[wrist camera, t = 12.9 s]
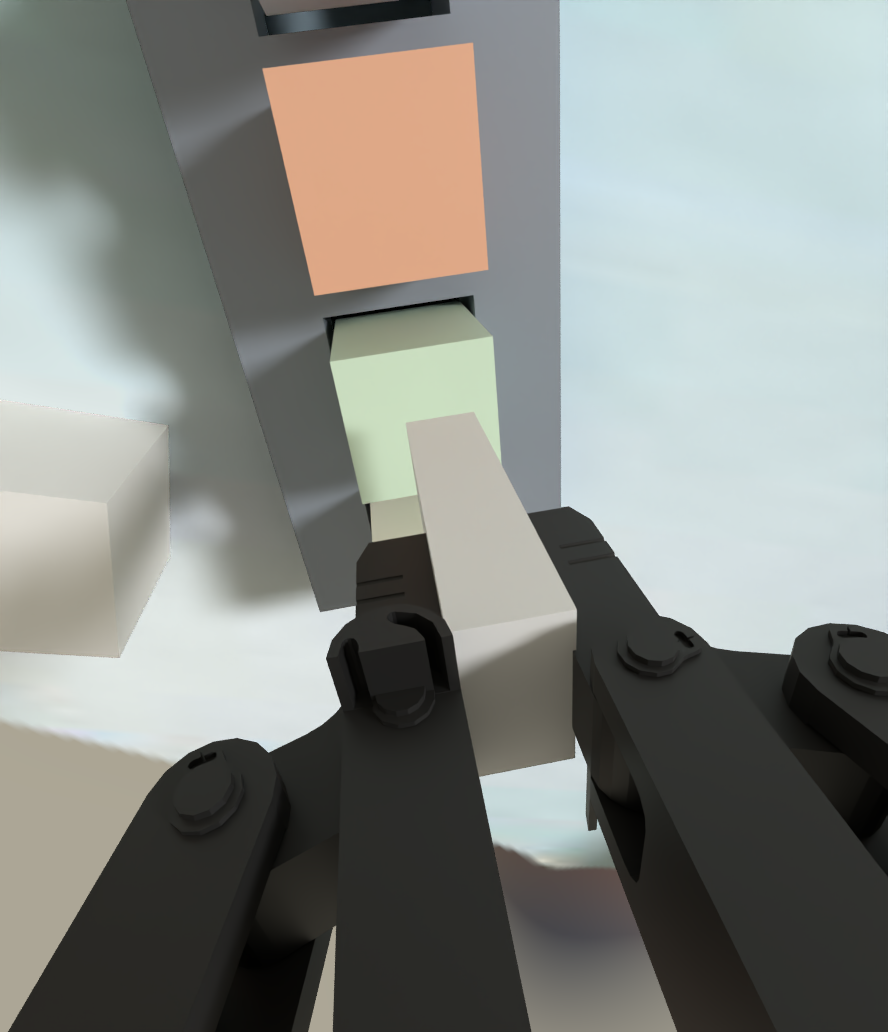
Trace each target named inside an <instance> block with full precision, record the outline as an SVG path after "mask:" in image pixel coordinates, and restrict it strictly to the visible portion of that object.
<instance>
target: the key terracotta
mask: <svg viewBox="0 0 888 1032" xmlns="http://www.w3.org/2000/svg"><path fill="white" fill-rule="evenodd" d="M263 74H264V78H265V82H266V87H267V91H268V95H269V100H270V104H271V109H272V113H273V117H274V122H275V126H276V130H277V135H278V139H279V143H280V148H281V152H282V156H283V161H284V165H285V169H286V174H287V178H288V183H289V187H290V191H291V196H292V200H293V204H294V209H295V213H296V217H297V222H298V226H299V230H300V235H301V239H302V243H303V248H304V252H305V256H306V261H307V265H308V270H309V274H310V278H311V283H312V287H313V291H314V296H316V295H323V294H330V293H337V292H343V291H350V290H357V289H363V288H370V287H377V286H383V285H390V284H397V283H404V282H410V281H417V280H424V279H430V278H437V277H444V276H450V275H457V274H464V273H470V272H477V271H484V270H488V256H487V241H486V227H485V212H484V197H483V182H482V167H481V153H480V138H479V123H478V108H477V93H476V79H475V64H474V49H473V43H465V44H457V45H449V46H441V47H433V48H425V49H417V50H408V51H400V52H392V53H384V54H376V55H368V56H360V57H352V58H344V59H336V60H328V61H320V62H312V63H303V64H295V65H287V66H279V67H271V68H263Z"/></svg>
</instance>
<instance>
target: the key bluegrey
mask: <svg viewBox="0 0 888 1032" xmlns="http://www.w3.org/2000/svg"><path fill="white" fill-rule="evenodd" d="M389 1H397V0H259V2H260V4H261V6H262V8H263V10H264V12H265V14H266V16H270V15H279V14H287V13H296V12H304V11H313V10H321V9H330V8H338V7H346V6H355V5H363V4H372V3H380V2H389Z"/></svg>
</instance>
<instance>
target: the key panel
mask: <svg viewBox="0 0 888 1032" xmlns="http://www.w3.org/2000/svg"><path fill="white" fill-rule="evenodd" d="M126 2H127V5H128V8H129V11H130V14H131V18H132V21H133V24H134V27H135V30H136V33H137V36H138V40H139V43H140V46H141V49H142V52H143V55H144V58H145V62H146V65H147V68H148V71H149V74H150V77H151V81H152V84H153V87H154V90H155V93H156V96H157V99H158V103H159V106H160V109H161V112H162V115H163V118H164V122H165V125H166V128H167V131H168V134H169V137H170V140H171V144H172V147H173V150H174V153H175V156H176V159H177V163H178V166H179V169H180V172H181V175H182V178H183V181H184V185H185V188H186V191H187V194H188V197H189V200H190V203H191V207H192V210H193V213H194V216H195V219H196V222H197V226H198V229H199V232H200V235H201V238H202V241H203V244H204V248H205V251H206V254H207V257H208V260H209V263H210V267H211V270H212V273H213V276H214V279H215V282H216V285H217V289H218V292H219V295H220V298H221V301H222V304H223V307H224V311H225V314H226V317H227V320H228V323H229V326H230V330H231V333H232V336H233V339H234V342H235V345H236V348H237V352H238V355H239V358H240V361H241V364H242V367H243V371H244V374H245V377H246V380H247V383H248V386H249V389H250V393H251V396H252V399H253V402H254V405H255V408H256V411H257V415H258V418H259V421H260V424H261V427H262V430H263V434H264V437H265V440H266V443H267V446H268V449H269V452H270V456H271V459H272V462H273V465H274V468H275V471H276V475H277V478H278V481H279V484H280V487H281V490H282V493H283V497H284V500H285V503H286V506H287V509H288V512H289V516H290V519H291V522H292V525H293V528H294V531H295V534H296V538H297V541H298V544H299V547H300V550H301V553H302V556H303V560H304V563H305V566H306V569H307V572H308V575H309V579H310V582H311V585H312V588H313V591H314V594H315V597H316V601H317V604H318V607H319V610H320V612H323V611H329V610H334V609H339V608H345V607H350V606H356V605H357V604H356V587H357V585H356V562H357V561H358V559H359V558H360V556H361V554H362V553H363V551H364V550H365V548H366V546H367V545H368V543H371V542H372V529H371V510H370V503H367V504H362V500H361V496H360V491H359V487H358V483H357V478H356V474H355V470H354V465H353V461H352V457H351V452H350V448H349V444H348V439H347V435H346V431H345V426H344V422H343V417H342V413H341V409H340V404H339V400H338V396H337V391H336V387H335V383H334V378H333V374H332V370H331V365H330V356H331V349H332V342H333V335H334V331H333V327H332V322H331V318H330V317H332V316H339V315H345V314H352V313H359V312H365V311H372V310H378V309H385V308H391V307H398V306H405V305H411V304H418V303H424V302H431V301H438V300H444V299H451V298H457V297H459V300H460V302H461V303H462V304H463V305H464V306H465V307H466V308H467V309H468V311H469V312H470V313H471V314H472V315H473V316H474V317H475V318H476V319H477V320H478V321H479V322H480V323H481V324H482V325H483V326H484V327H485V328H486V330H487V331H488V332H489V333H490V334H491V335H492V336H493V345H494V360H495V375H496V390H497V404H498V419H499V434H500V449H501V463H502V467H503V469H504V471H505V472H506V474H507V476H508V478H509V480H510V482H511V484H512V486H513V488H514V490H515V492H516V494H517V496H518V497H519V499H520V501H521V503H522V505H523V507H524V509H525V511H526V513H533V512H539V511H545V510H551V509H557V508H561V376H560V26H559V0H431V9H432V16H427V17H418V18H410V19H402V20H393V21H385V22H377V23H368V24H360V25H352V26H343V27H335V28H327V29H319V30H310V31H302V32H294V33H285V34H277V35H268V30H267V26H266V21H265V17H264V12H263V8H262V6H261V4H260V2H259V0H126ZM465 43H473V49H474V64H475V79H476V93H477V108H478V123H479V138H480V153H481V167H482V182H483V197H484V212H485V227H486V241H487V256H488V270H484V271H477V272H470V273H464V274H457V275H450V276H444V277H437V278H430V279H424V280H417V281H410V282H404V283H397V284H390V285H383V286H377V287H370V288H363V289H357V290H350V291H343V292H337V293H330V294H323V295H316V296H314V291H313V287H312V283H311V278H310V274H309V270H308V265H307V261H306V256H305V252H304V248H303V243H302V239H301V235H300V230H299V226H298V222H297V217H296V213H295V209H294V204H293V200H292V196H291V191H290V187H289V183H288V178H287V174H286V169H285V165H284V161H283V156H282V152H281V148H280V143H279V139H278V135H277V130H276V126H275V122H274V117H273V113H272V109H271V104H270V100H269V95H268V91H267V87H266V82H265V78H264V74H263V68H271V67H279V66H287V65H295V64H303V63H312V62H320V61H328V60H336V59H344V58H352V57H360V56H368V55H376V54H384V53H392V52H400V51H408V50H417V49H425V48H433V47H441V46H449V45H457V44H465Z"/></svg>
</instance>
